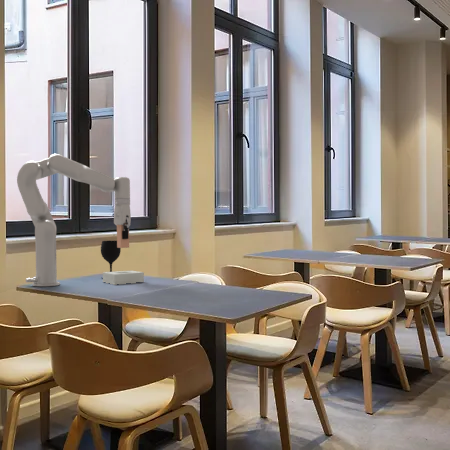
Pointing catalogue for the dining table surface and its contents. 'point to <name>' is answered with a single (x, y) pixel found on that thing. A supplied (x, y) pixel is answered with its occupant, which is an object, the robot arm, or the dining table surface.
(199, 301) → the dining table surface
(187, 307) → the dining table surface
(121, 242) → the peg
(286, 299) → the dining table surface
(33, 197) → the robot arm
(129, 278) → the well block
